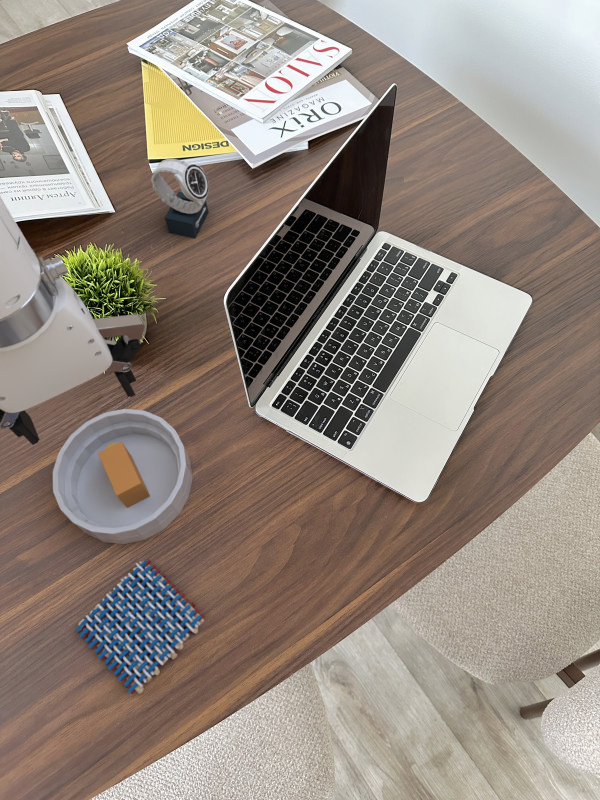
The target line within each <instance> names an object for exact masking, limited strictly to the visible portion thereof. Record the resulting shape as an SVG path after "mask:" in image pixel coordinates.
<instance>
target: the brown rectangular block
mask: <svg viewBox="0 0 600 800" xmlns="http://www.w3.org/2000/svg"><path fill="white" fill-rule="evenodd" d="M98 455H99V457H100V460H101V462H102V464H103V466H104V469H105V471H106V473H107V475H108V478H109V480H110V482H111V484H112V487H113V489H114V491H115V493H116V495H117V497H118V498H119V499H120V500H121V501H122V502H123V504H124V505H125V506H126V507H127V508H128V507H130V506H132V505H134V504H136V503H138V502H140V501H142V500H144V499H146V498H148V497H149V496H150V494H149V492H148V490H147V488H146V486H145V484H144V481H143V479H142V477H141V475H140V473H139V471H138V469H137V467H136V464H135V462H134V460H133V458H132V456H131V455H130V453H129V452H128V450H127V449H126V447H125V446H124V444H123V443H122V442H119V443H112V444H109V445H108V446H107V447H106V449H105V450H103V451H101V452H99V453H98Z"/></svg>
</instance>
